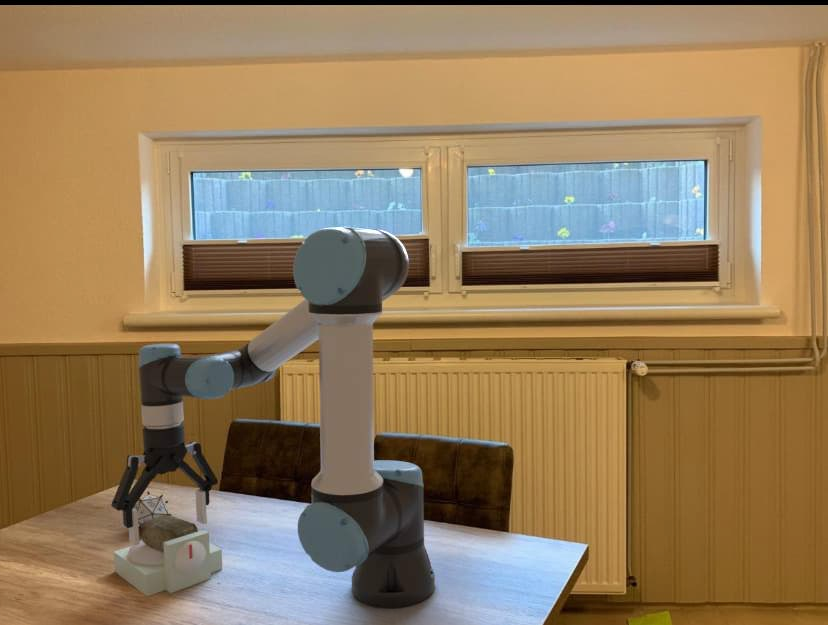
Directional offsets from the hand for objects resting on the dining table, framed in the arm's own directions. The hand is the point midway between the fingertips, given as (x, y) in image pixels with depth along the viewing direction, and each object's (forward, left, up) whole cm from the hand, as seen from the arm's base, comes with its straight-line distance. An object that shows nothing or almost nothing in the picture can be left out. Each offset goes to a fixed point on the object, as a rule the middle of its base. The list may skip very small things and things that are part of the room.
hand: (169, 532), depth 132 cm
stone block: (0, 0, -3) cm, 3 cm away
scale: (0, 0, -8) cm, 8 cm away
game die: (+25, -7, -8) cm, 27 cm away
